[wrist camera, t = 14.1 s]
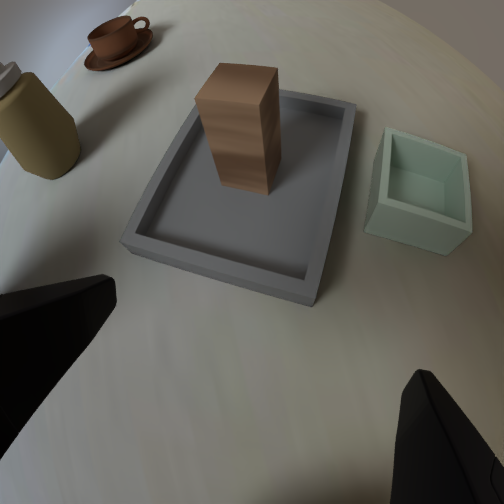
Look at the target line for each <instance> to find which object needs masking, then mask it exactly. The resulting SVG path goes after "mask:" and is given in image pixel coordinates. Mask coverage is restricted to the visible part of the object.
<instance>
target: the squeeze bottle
mask: <svg viewBox="0 0 504 504" xmlns="http://www.w3.org/2000/svg"><path fill="white" fill-rule="evenodd" d="M0 138H1V140H2V141H3V142H4V144H5V145H6V147H7V148H8V149H9V151H10V152H11V153H12V155H13V156H14V157H15V159H16V160H17V161H18V163H19V164H20V165H21V167H22V168H23V169H24V170H25V171H27V172H30V173H32V174H35V175H37V176H40V177H42V178H45V179H50V180H53V179H56V178H59V177H60V176H62V175H63V174H65V173H66V172H67V171H68V170H69V169H70V168H71V167H72V166H73V165H74V164H75V162H76V160H77V159H78V157H79V154H80V150H81V147H80V142H79V138H78V134H77V130H76V126H75V122H74V118H73V117H72V116H71V115H70V114H69V113H68V112H67V111H66V110H65V108H64V107H63V106H62V105H61V104H60V103H59V102H58V101H57V99H56V98H55V97H54V96H53V95H52V94H51V93H50V91H49V90H48V89H47V88H46V87H45V86H44V84H43V83H42V82H41V81H40V80H39V79H38V77H37V76H36V75H35V74H34V73H32V72H26V73H23V74H21V70H20V69H19V67H18V65H17V64H16V63H15V62H10V63H8V64H7V65H5V66H4V65H3V64H2V63H1V62H0Z"/></svg>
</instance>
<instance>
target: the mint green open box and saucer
mask: <svg viewBox="0 0 504 504" xmlns="http://www.w3.org/2000/svg"><path fill="white" fill-rule="evenodd" d="M140 20H143V21H145V22H146V25H145V27H144V28H139V29H135V28H134V24H135V23H136V22H138V21H140ZM149 25H150V22H149V20H148V18H146V17H138V18H136V19H134V20H133V21H132V19H131V17H130V16H121V17H117V18H114V19H112V20H109V21H107V22H105V23H103V24H101V25H100V26H98V27H97V28H95V29H94V30H93V31H92V32H91V33H90V34H89V35H88V40H89V42H90V44H91V46H92V48H93V51H92V52H91V53H90V54H89V55H88V56H87V58H86V59H85V62H84V65H85V67H86V68H87V69H88V70H92V71H102V70H107V69H110V68H113V67H116V66H118V65H121V64H123V63H125V62H127V61H129V60H130V59H132V58H134V57H135V56H137V55H138V54H139V53H141V52H142V51H143V50H144V49H145V48H146V47H147V46H148V45H149V43H150V42H151V40H152V37H153V33H152V31H151V30H149V29H148V27H149Z"/></svg>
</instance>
